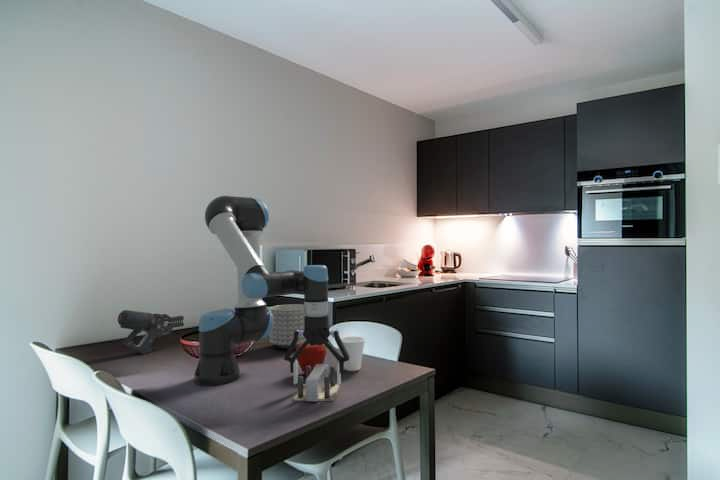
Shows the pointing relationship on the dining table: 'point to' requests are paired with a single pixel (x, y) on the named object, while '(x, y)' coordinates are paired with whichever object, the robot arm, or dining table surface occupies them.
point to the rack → (329, 387)
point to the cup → (353, 352)
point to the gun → (147, 328)
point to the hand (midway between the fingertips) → (317, 383)
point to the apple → (311, 356)
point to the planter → (287, 324)
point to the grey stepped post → (316, 382)
